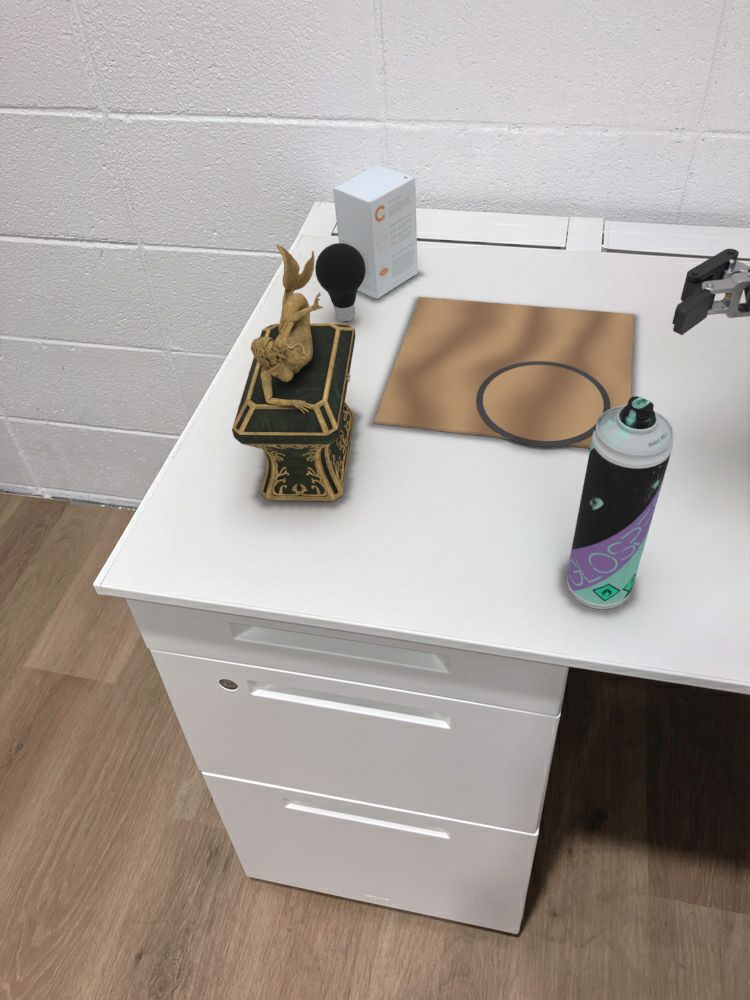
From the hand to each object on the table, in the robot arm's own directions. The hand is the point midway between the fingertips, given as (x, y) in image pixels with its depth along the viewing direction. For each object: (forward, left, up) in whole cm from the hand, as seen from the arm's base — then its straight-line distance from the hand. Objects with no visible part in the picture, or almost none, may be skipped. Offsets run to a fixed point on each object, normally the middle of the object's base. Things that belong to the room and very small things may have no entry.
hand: (728, 346), depth 60 cm
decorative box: (+36, -4, -19) cm, 41 cm away
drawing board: (+17, -20, -19) cm, 32 cm away
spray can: (+6, +9, -19) cm, 22 cm away
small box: (+36, -36, -19) cm, 55 cm away
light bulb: (+38, -26, -19) cm, 50 cm away
